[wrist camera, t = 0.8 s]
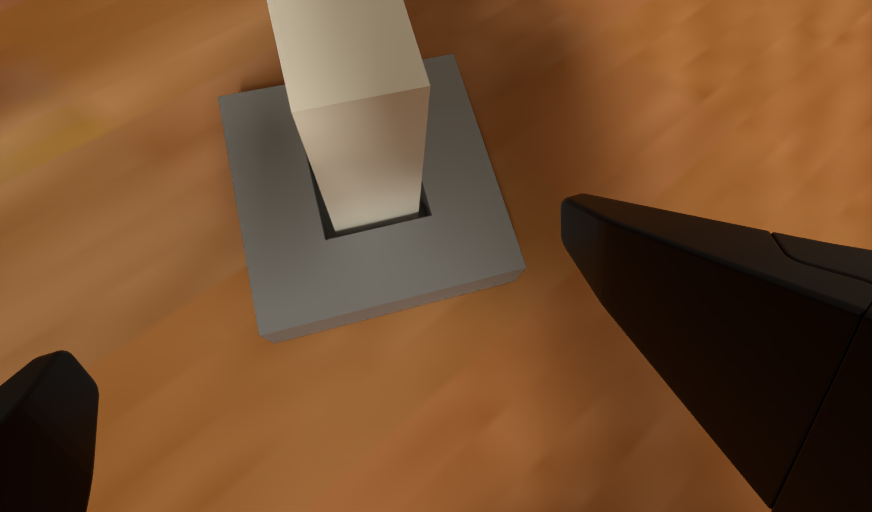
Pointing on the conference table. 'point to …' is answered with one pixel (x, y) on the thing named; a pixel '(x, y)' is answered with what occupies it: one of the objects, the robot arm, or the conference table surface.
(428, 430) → the conference table surface
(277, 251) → the grey square frame
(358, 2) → the plug
